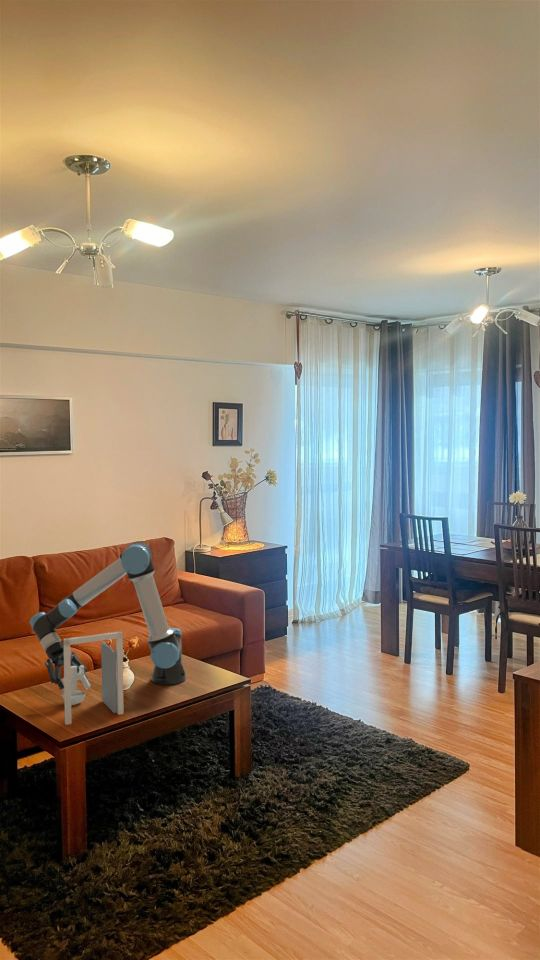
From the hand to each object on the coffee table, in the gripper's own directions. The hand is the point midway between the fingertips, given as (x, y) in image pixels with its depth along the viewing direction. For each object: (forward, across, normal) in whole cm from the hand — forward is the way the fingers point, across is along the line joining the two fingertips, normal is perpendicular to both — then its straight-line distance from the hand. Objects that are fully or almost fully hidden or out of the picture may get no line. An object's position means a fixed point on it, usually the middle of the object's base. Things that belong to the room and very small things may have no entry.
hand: (78, 691), depth 280 cm
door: (+13, -5, +6) cm, 15 cm away
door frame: (+16, +6, +8) cm, 19 cm away
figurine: (+2, 0, -6) cm, 6 cm away
